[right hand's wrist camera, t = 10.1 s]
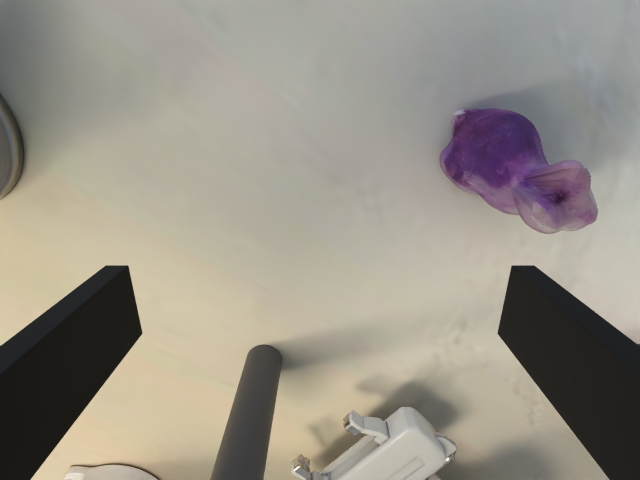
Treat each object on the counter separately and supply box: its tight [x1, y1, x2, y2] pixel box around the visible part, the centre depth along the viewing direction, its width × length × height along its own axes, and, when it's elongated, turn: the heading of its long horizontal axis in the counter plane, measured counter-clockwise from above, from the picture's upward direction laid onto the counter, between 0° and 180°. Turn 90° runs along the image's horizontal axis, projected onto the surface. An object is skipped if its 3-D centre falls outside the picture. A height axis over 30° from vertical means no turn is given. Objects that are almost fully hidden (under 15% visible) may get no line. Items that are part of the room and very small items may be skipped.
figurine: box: [440, 109, 598, 234], centre depth 30 cm, size 9×10×15 cm
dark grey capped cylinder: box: [210, 345, 282, 480], centre depth 37 cm, size 4×4×20 cm
